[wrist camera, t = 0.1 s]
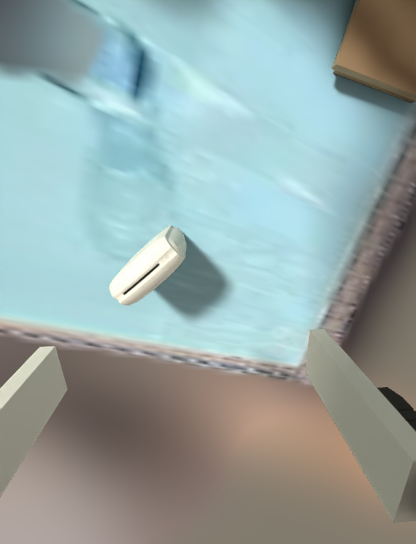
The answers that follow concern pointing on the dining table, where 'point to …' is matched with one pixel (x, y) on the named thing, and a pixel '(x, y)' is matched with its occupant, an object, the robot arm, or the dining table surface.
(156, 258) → the photo printer
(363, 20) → the stand
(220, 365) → the dining table surface
